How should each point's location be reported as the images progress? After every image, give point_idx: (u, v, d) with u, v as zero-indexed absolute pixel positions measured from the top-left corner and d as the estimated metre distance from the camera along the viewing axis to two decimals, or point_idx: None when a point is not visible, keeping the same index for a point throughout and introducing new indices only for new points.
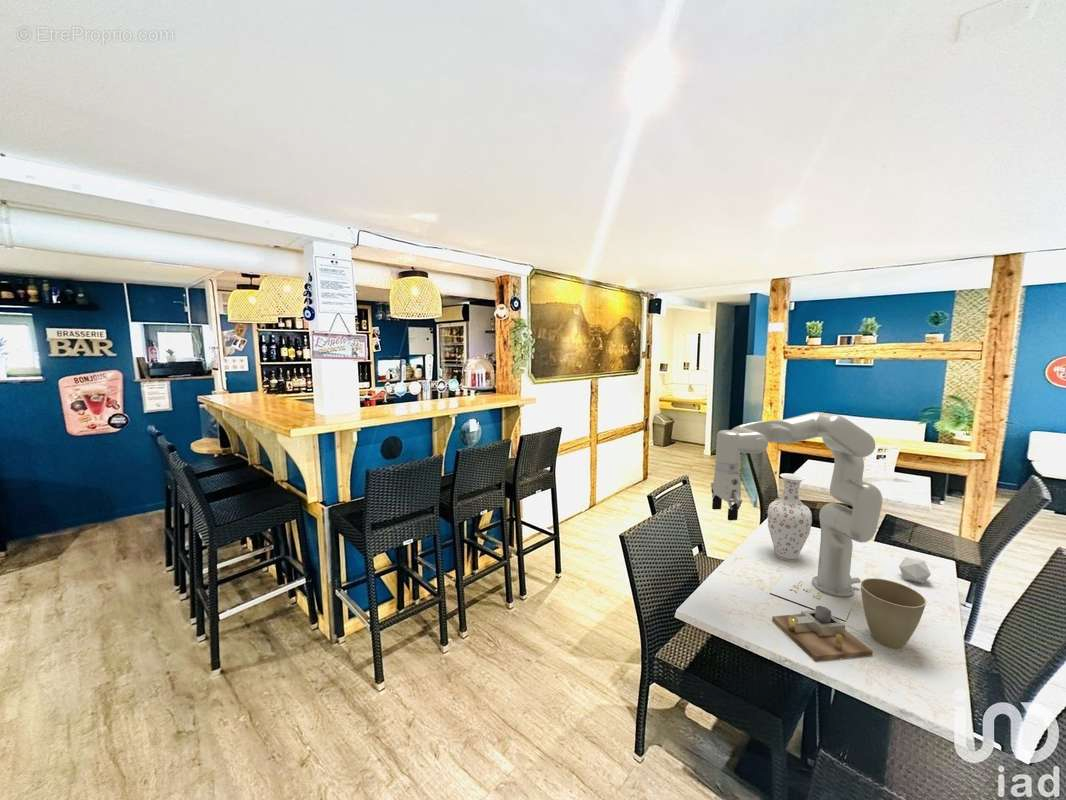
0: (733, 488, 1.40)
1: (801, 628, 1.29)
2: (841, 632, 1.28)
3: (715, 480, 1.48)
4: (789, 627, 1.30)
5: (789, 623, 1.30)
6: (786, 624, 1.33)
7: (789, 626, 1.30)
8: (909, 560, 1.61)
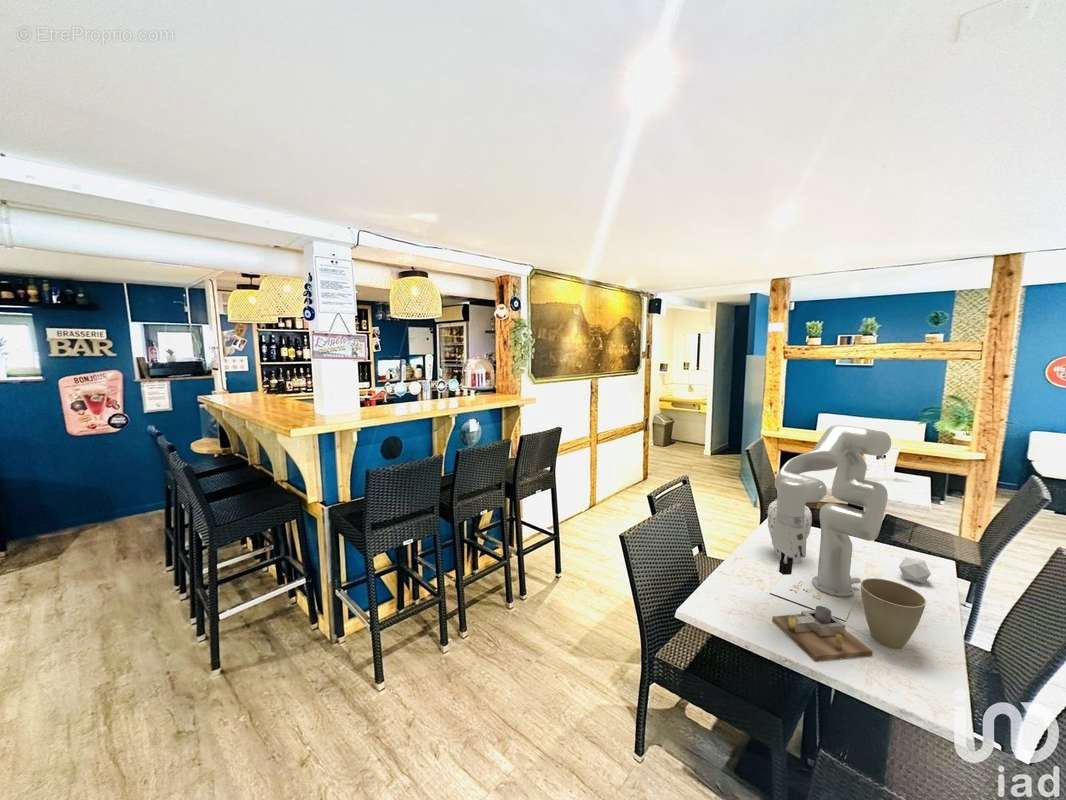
0: (798, 543, 1.29)
1: (801, 628, 1.29)
2: (841, 632, 1.28)
3: (775, 532, 1.36)
4: (789, 627, 1.30)
5: (789, 623, 1.30)
6: (786, 624, 1.33)
7: (789, 626, 1.30)
8: (909, 560, 1.61)
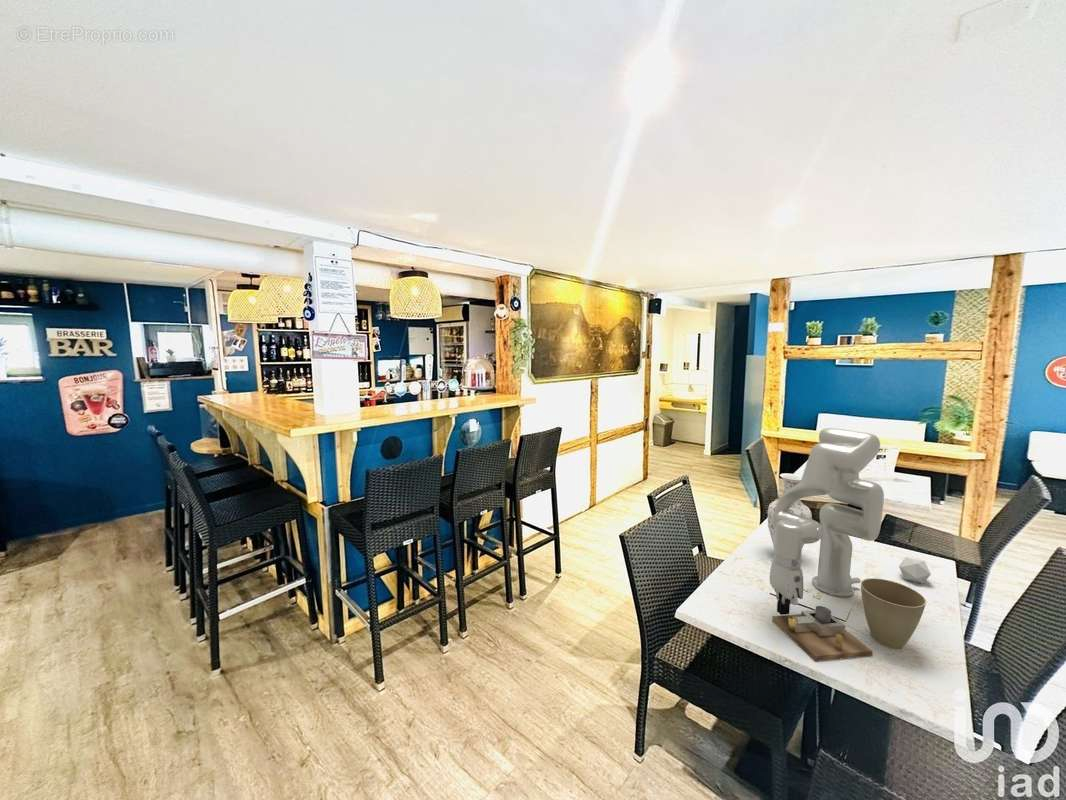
0: (795, 586, 1.31)
1: (801, 628, 1.29)
2: (841, 632, 1.28)
3: (773, 572, 1.38)
4: (789, 627, 1.30)
5: (789, 623, 1.30)
6: (786, 624, 1.33)
7: (789, 626, 1.30)
8: (908, 560, 1.61)
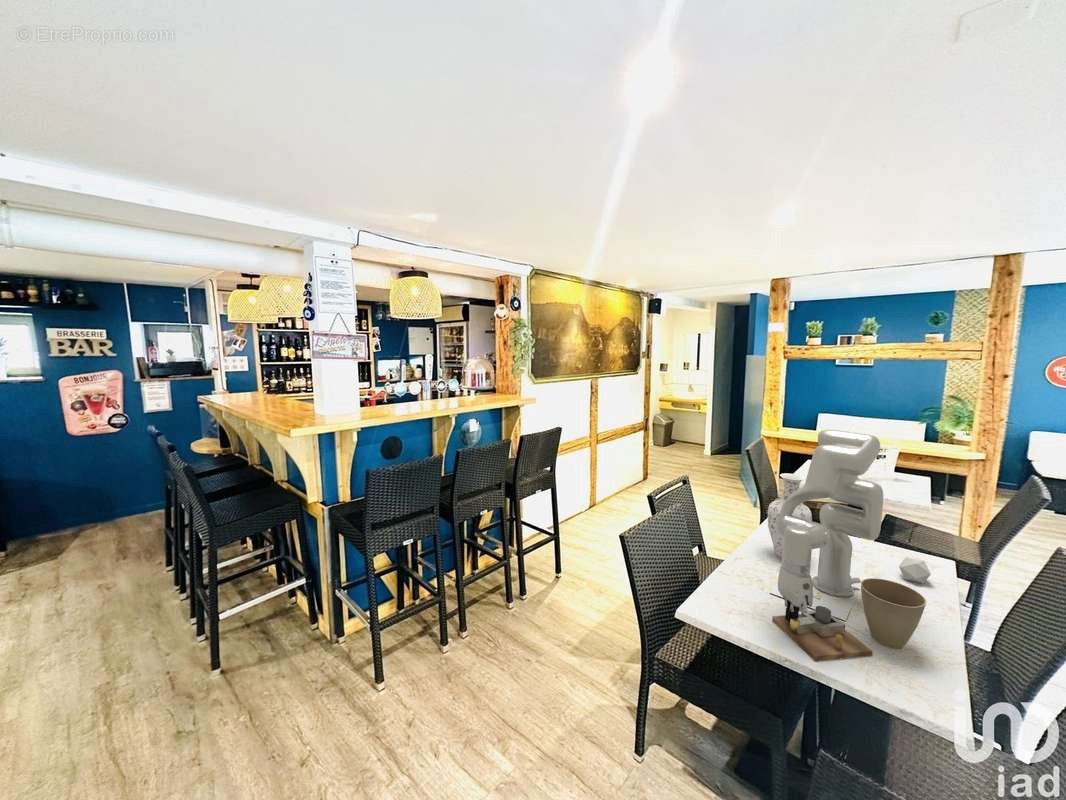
0: (804, 593, 1.27)
1: (803, 629, 1.28)
2: (841, 632, 1.28)
3: (781, 578, 1.34)
4: (791, 629, 1.29)
5: (791, 625, 1.29)
6: (786, 624, 1.33)
7: (791, 628, 1.29)
8: (908, 560, 1.61)
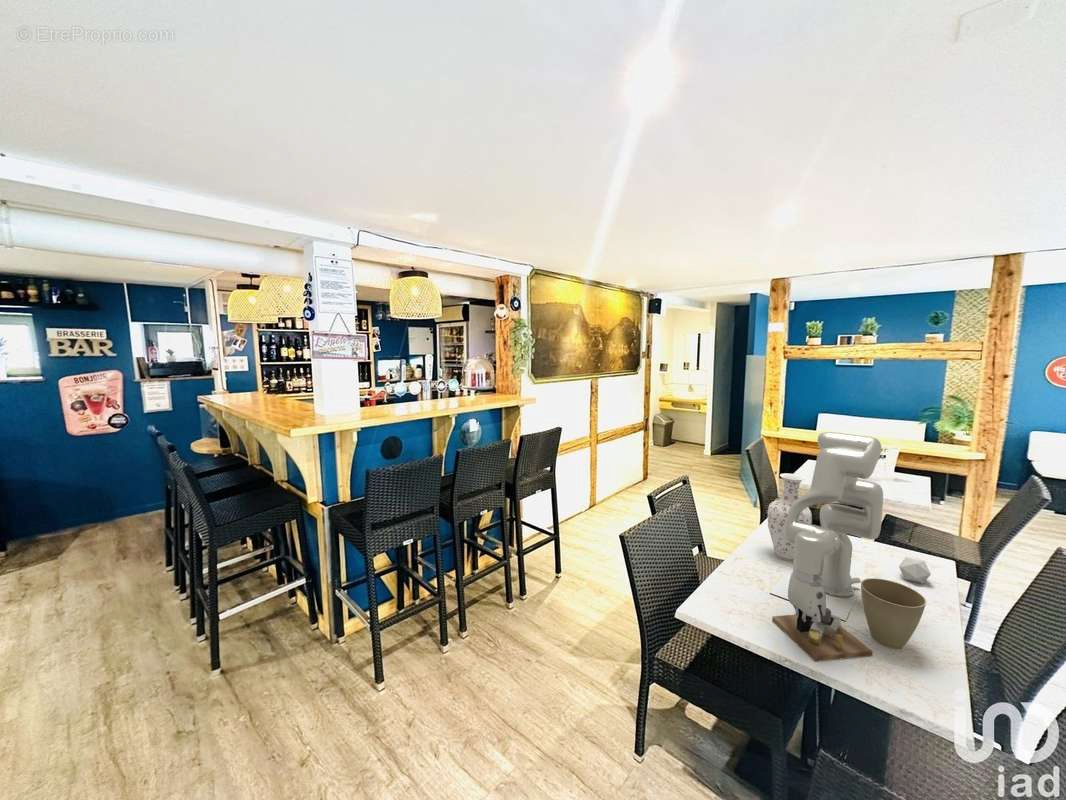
0: (818, 602, 1.22)
1: (821, 638, 1.24)
2: (839, 626, 1.31)
3: (792, 587, 1.30)
4: (814, 642, 1.23)
5: (813, 637, 1.23)
6: (786, 624, 1.33)
7: (814, 641, 1.23)
8: (908, 560, 1.61)
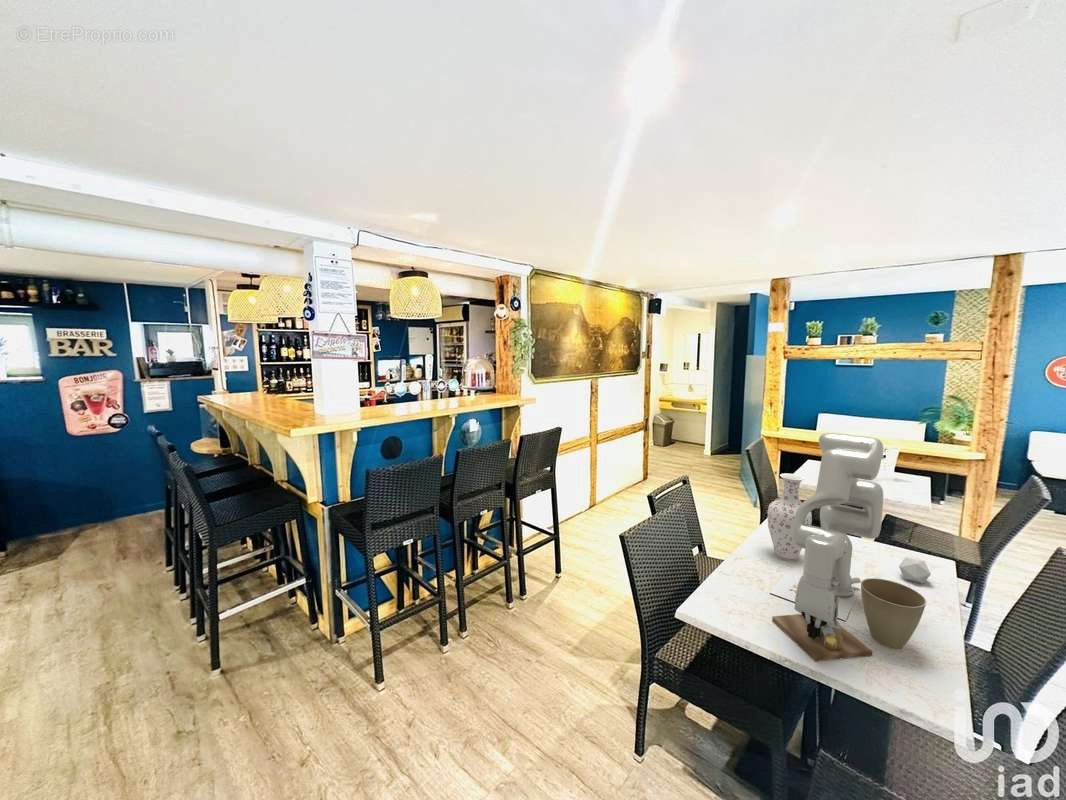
0: (835, 606, 1.20)
1: None
2: None
3: (802, 595, 1.25)
4: (831, 647, 1.21)
5: (831, 643, 1.21)
6: (786, 624, 1.33)
7: (831, 646, 1.21)
8: (908, 560, 1.61)
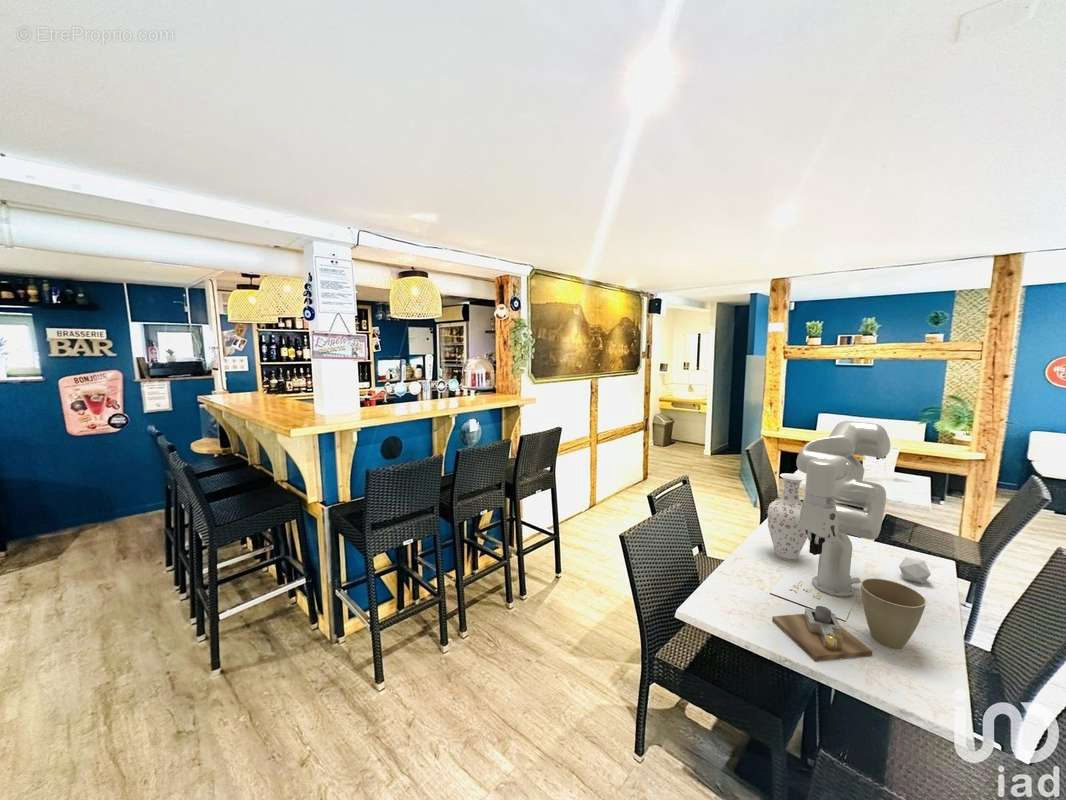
0: (831, 523, 1.27)
1: None
2: None
3: (804, 513, 1.34)
4: (831, 647, 1.21)
5: (831, 643, 1.21)
6: (786, 624, 1.33)
7: (831, 646, 1.21)
8: (908, 560, 1.61)
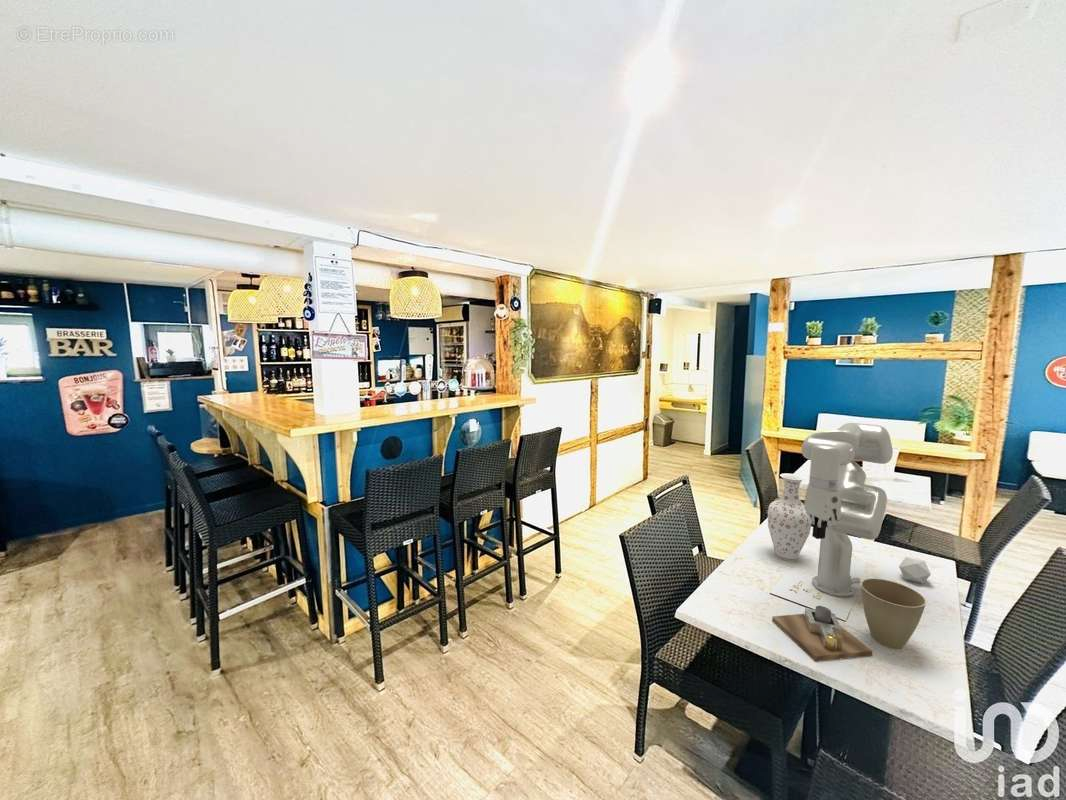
0: (833, 506, 1.30)
1: None
2: None
3: (808, 497, 1.37)
4: (831, 647, 1.21)
5: (831, 643, 1.21)
6: (786, 624, 1.33)
7: (831, 646, 1.21)
8: (908, 560, 1.61)
